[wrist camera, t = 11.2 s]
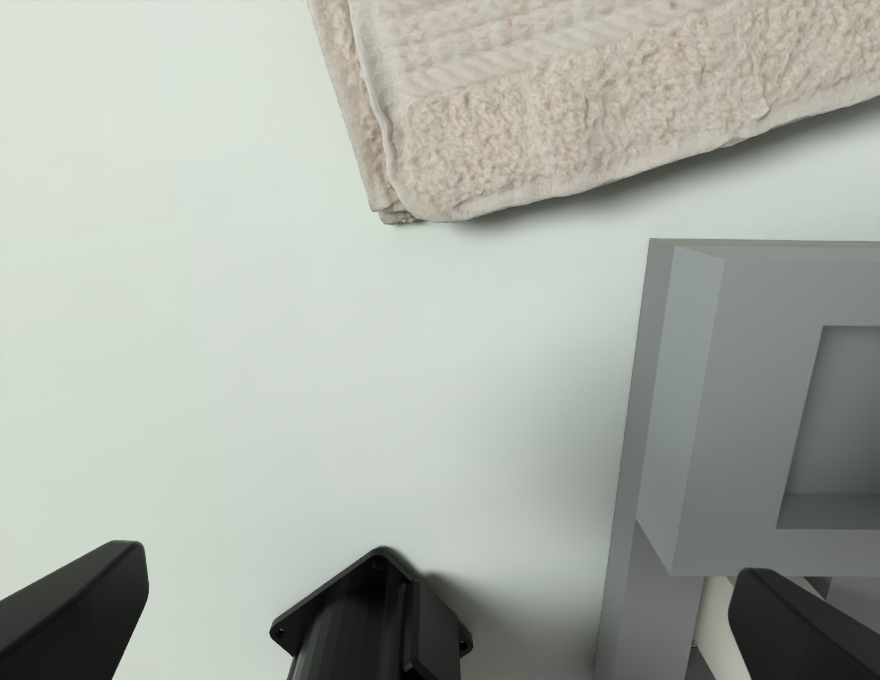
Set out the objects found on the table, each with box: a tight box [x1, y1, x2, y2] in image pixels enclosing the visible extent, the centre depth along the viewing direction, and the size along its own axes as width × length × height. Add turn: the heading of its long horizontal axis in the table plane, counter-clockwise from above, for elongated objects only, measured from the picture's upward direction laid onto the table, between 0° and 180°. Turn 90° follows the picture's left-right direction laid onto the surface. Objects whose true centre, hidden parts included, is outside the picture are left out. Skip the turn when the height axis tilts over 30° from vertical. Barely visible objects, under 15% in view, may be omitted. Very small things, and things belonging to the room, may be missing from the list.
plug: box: [693, 576, 826, 680], centre depth 20 cm, size 4×3×7 cm, turn 0°
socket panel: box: [593, 238, 880, 680], centre depth 19 cm, size 20×11×5 cm, turn 179°
